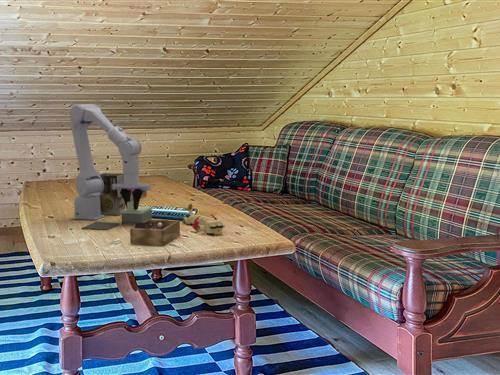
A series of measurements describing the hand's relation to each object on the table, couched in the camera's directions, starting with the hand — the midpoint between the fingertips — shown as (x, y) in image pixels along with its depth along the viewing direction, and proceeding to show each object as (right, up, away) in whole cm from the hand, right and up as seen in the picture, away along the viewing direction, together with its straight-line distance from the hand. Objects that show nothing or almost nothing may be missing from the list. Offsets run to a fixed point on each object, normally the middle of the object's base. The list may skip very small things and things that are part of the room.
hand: (132, 209), depth 229 cm
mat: (-10, -6, -4) cm, 13 cm away
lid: (+1, -1, +4) cm, 4 cm away
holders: (0, -3, +15) cm, 16 cm away
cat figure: (+27, -7, -9) cm, 30 cm away
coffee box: (-12, -3, +20) cm, 23 cm away
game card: (+11, -10, -27) cm, 30 cm away
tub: (+1, -5, +5) cm, 7 cm away
